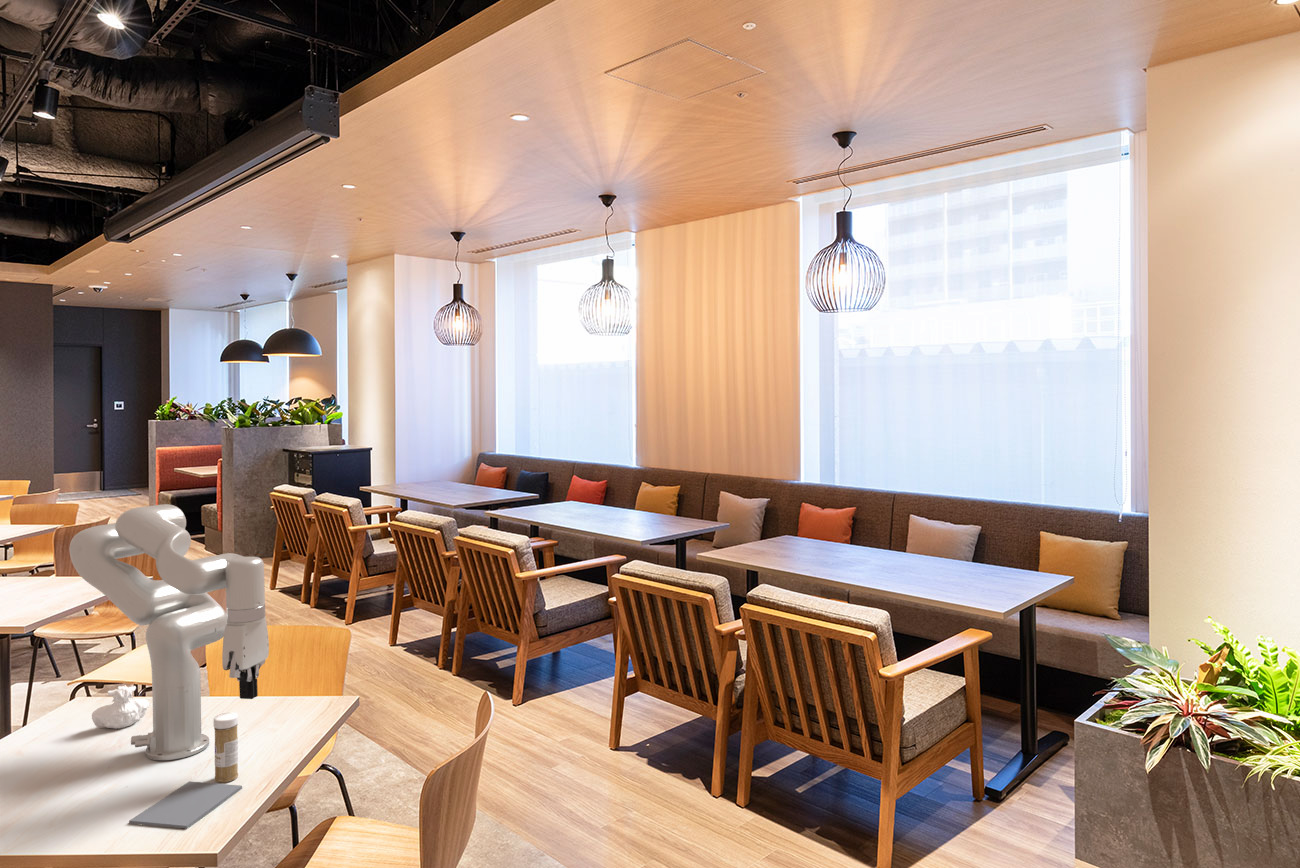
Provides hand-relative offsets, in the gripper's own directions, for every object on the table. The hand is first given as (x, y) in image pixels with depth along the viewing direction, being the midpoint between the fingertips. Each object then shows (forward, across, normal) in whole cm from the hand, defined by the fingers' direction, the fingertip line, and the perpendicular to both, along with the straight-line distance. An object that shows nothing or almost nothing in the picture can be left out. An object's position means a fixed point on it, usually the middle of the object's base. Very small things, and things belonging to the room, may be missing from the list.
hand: (248, 697), depth 177 cm
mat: (+15, +18, -1) cm, 24 cm away
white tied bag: (+14, -14, -44) cm, 49 cm away
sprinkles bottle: (+15, +7, -1) cm, 17 cm away
